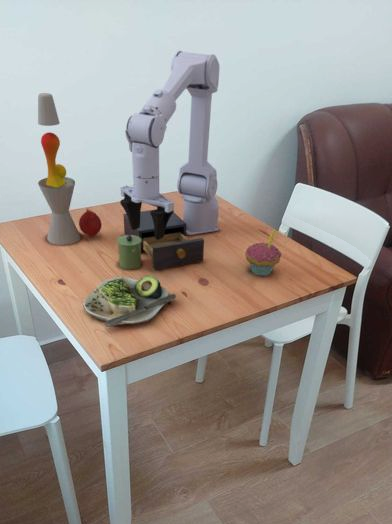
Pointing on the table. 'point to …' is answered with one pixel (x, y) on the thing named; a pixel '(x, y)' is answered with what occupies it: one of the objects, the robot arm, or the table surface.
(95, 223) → the onion
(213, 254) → the table surface
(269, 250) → the cupcake
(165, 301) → the avocado toast plate
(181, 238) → the drawer
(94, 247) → the table surface
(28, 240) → the table surface
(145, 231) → the cabinet
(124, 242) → the pot
